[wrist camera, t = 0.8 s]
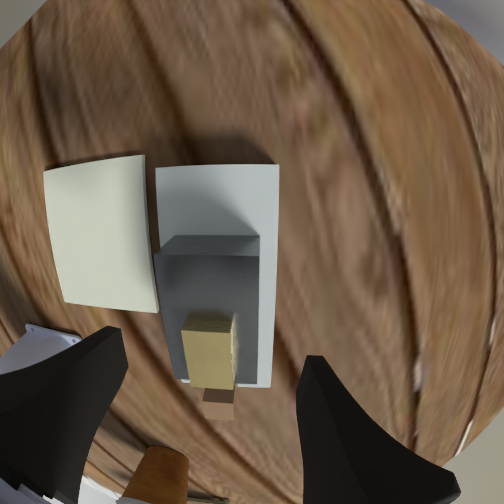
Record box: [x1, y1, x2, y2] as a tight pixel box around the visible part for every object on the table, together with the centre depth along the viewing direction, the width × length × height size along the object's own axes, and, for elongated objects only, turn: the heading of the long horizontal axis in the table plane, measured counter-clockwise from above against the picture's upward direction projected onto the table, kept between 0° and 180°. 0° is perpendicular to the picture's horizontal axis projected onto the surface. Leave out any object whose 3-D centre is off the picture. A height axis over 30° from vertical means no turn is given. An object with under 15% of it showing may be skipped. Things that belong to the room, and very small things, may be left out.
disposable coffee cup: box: [116, 446, 189, 504], centre depth 24 cm, size 10×10×12 cm
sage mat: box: [43, 155, 159, 313], centre depth 19 cm, size 10×12×1 cm
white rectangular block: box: [156, 164, 279, 421], centre depth 17 cm, size 7×16×6 cm, turn 0°
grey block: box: [153, 235, 260, 390], centre depth 15 cm, size 5×8×4 cm, turn 0°
